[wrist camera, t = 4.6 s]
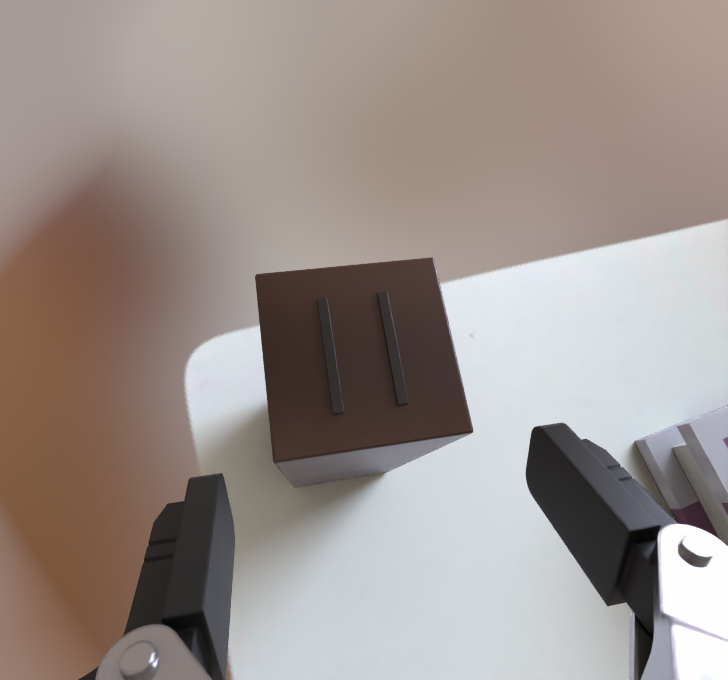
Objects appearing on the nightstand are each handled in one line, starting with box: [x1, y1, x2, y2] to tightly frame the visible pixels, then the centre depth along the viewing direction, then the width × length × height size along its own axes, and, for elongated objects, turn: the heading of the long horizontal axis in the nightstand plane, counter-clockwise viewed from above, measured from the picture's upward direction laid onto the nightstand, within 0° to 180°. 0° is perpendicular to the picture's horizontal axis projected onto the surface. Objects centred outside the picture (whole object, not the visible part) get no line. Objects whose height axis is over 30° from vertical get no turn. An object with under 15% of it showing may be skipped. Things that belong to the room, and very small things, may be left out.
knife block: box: [255, 258, 473, 487], centre depth 21 cm, size 6×6×16 cm
